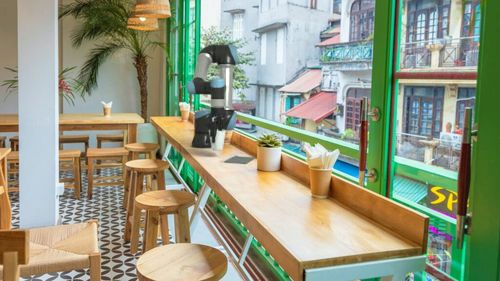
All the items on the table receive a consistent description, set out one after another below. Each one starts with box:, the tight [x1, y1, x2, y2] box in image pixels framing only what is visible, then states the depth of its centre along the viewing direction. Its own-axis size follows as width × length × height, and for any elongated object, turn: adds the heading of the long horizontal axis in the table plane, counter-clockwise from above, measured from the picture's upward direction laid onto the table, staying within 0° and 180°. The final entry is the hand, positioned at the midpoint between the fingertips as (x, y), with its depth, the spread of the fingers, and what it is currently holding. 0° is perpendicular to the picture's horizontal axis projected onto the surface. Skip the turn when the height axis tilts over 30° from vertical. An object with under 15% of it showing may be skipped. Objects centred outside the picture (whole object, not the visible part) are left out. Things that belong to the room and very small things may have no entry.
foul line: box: [220, 154, 235, 163], centre depth 249 cm, size 18×1×1 cm, turn 164°
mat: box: [223, 155, 256, 165], centre depth 246 cm, size 18×12×1 cm, turn 164°
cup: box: [208, 129, 227, 152], centre depth 254 cm, size 10×10×11 cm
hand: (217, 147), depth 254 cm, fingers closed on cup, 9 cm apart
